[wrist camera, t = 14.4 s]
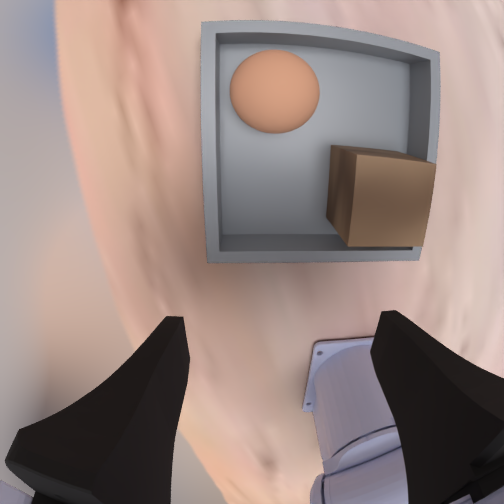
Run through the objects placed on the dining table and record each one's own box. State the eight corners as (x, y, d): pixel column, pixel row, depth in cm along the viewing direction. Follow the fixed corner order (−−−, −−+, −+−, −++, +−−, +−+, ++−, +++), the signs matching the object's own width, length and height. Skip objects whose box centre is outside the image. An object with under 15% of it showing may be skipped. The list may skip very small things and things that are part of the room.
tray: (399, 241, 20) (418, 260, 17) (212, 242, 20) (207, 263, 17) (414, 57, 14) (439, 51, 12) (208, 36, 14) (201, 21, 11)
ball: (309, 134, 16) (328, 137, 12) (232, 132, 16) (226, 135, 12) (310, 61, 15) (329, 43, 11) (232, 59, 15) (226, 39, 11)
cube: (389, 218, 19) (422, 246, 15) (325, 216, 19) (347, 246, 15) (397, 151, 17) (436, 164, 13) (330, 144, 17) (357, 154, 13)
